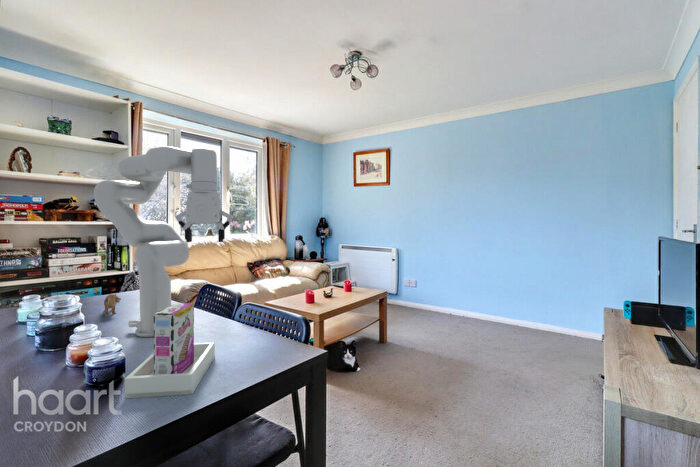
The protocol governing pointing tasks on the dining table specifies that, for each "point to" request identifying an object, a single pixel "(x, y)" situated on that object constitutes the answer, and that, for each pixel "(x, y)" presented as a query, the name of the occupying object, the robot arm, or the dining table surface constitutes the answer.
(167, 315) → the candy bar box
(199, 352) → the tray
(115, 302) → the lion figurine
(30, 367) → the dining table surface
